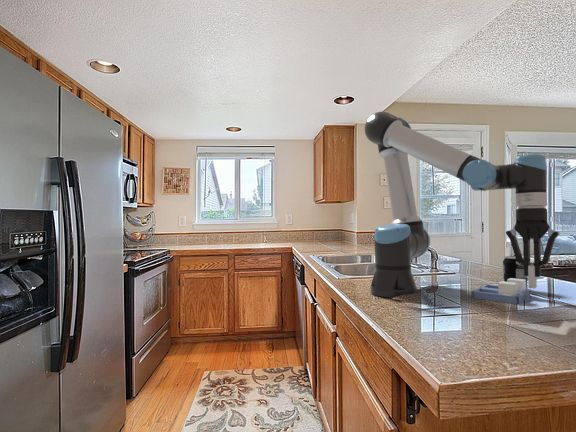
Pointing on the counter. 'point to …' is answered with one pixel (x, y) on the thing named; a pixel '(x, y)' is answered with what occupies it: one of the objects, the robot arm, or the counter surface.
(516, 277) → the beverage can
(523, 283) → the tab far
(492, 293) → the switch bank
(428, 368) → the counter surface
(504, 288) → the white block
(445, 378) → the counter surface
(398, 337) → the counter surface
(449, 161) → the robot arm
